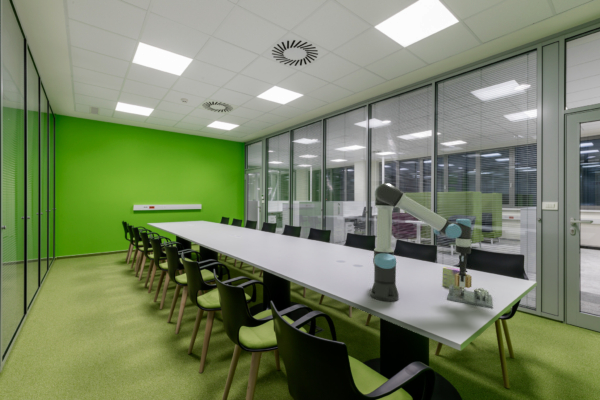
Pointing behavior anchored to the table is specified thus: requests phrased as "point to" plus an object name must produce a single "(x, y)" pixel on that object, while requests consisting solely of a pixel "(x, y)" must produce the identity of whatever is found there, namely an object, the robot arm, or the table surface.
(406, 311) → the table surface
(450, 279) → the box
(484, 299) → the carrier
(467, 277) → the gear
